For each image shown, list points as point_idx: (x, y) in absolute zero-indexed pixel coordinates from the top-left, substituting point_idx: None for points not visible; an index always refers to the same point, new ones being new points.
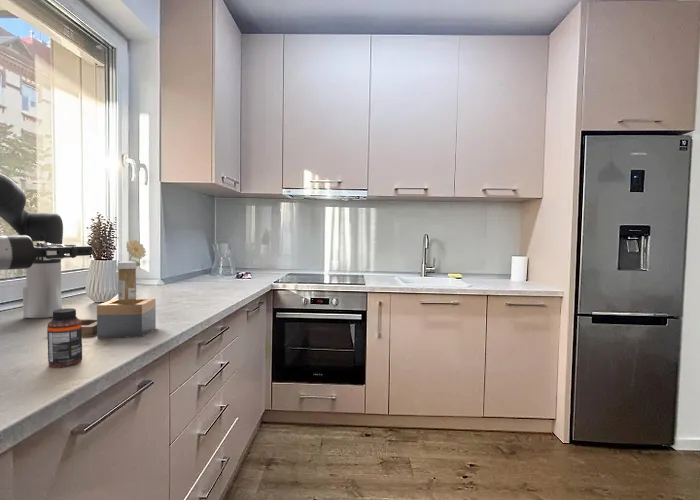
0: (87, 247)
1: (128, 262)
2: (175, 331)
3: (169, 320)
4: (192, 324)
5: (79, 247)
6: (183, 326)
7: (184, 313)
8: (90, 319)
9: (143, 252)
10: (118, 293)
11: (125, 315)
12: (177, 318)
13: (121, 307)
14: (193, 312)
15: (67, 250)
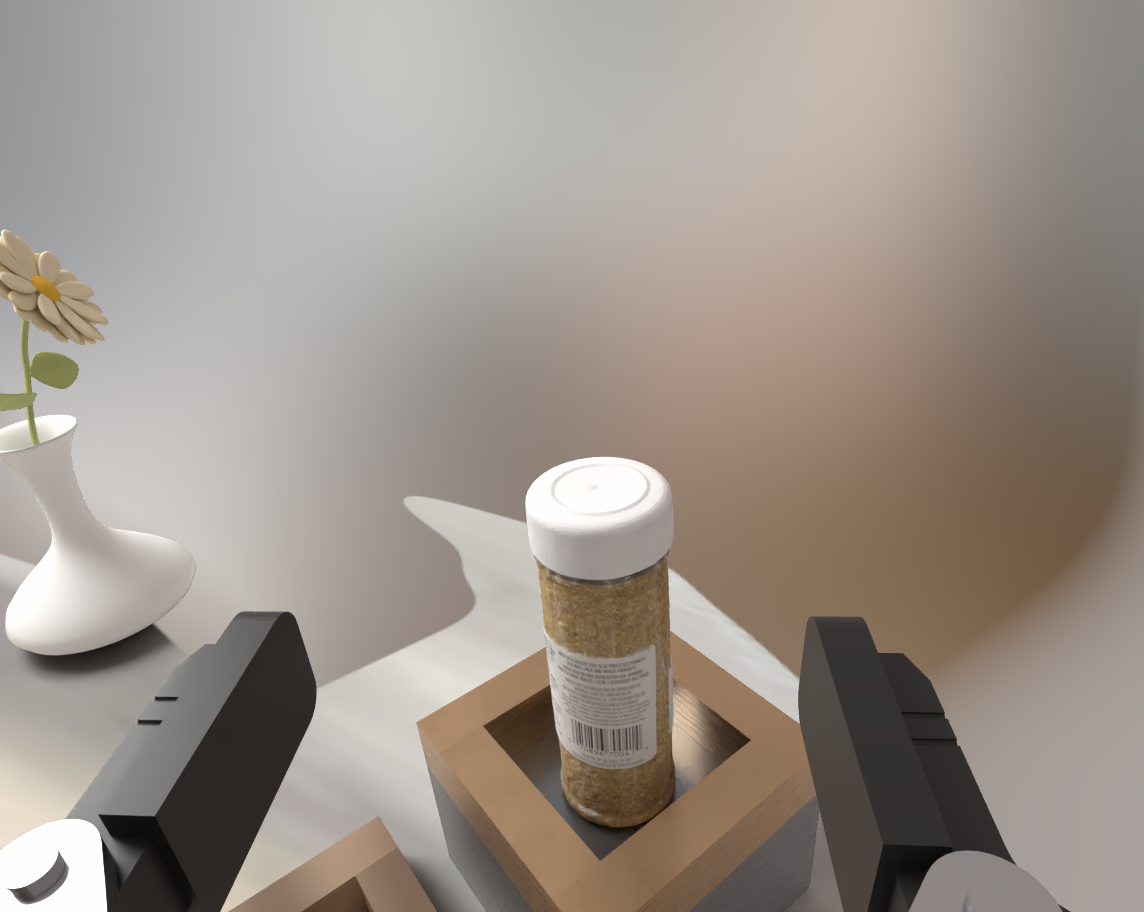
0: (872, 670)
1: (665, 500)
2: (791, 715)
3: (529, 619)
4: (698, 609)
5: (921, 785)
6: (708, 646)
7: (460, 533)
8: (277, 908)
9: (86, 297)
10: (597, 736)
11: (749, 860)
12: (523, 585)
13: (732, 839)
14: (477, 511)
15: (253, 770)
